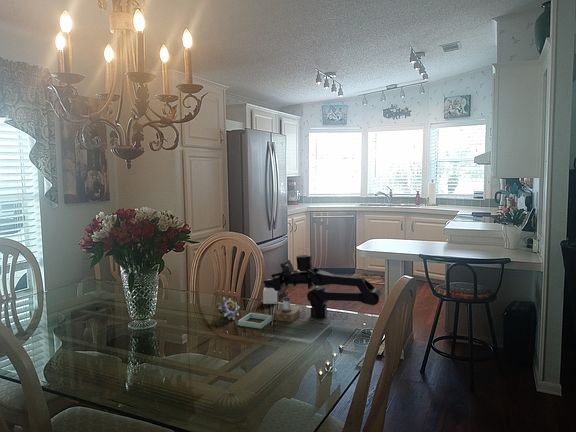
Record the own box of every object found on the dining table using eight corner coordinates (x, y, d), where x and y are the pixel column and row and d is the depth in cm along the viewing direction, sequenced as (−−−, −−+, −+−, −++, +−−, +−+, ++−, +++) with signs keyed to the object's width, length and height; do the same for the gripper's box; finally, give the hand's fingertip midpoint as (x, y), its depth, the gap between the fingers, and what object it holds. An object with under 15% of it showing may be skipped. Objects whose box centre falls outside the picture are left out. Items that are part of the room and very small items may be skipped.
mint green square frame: (272, 322, 196) (272, 315, 195) (261, 330, 186) (261, 323, 185) (250, 319, 200) (250, 312, 200) (238, 327, 190) (238, 320, 190)
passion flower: (233, 331, 200) (227, 316, 192) (213, 324, 204) (207, 308, 196) (246, 312, 207) (241, 296, 199) (226, 305, 211) (221, 289, 203)
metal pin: (291, 316, 199) (290, 297, 198) (288, 318, 197) (288, 299, 196) (285, 316, 201) (284, 296, 200) (282, 318, 198) (282, 298, 197)
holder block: (299, 317, 201) (299, 309, 201) (292, 324, 193) (292, 315, 192) (281, 315, 205) (281, 306, 204) (273, 321, 196) (273, 312, 196)
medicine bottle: (277, 305, 219) (277, 281, 218) (263, 305, 219) (262, 282, 218) (278, 301, 226) (277, 278, 225) (264, 301, 226) (263, 278, 225)
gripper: (303, 255, 209) (273, 256, 215) (289, 267, 192) (256, 267, 198) (306, 278, 211) (276, 278, 217) (292, 291, 194) (260, 291, 200)
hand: (267, 278), depth 208 cm, fingers open, 9 cm apart
